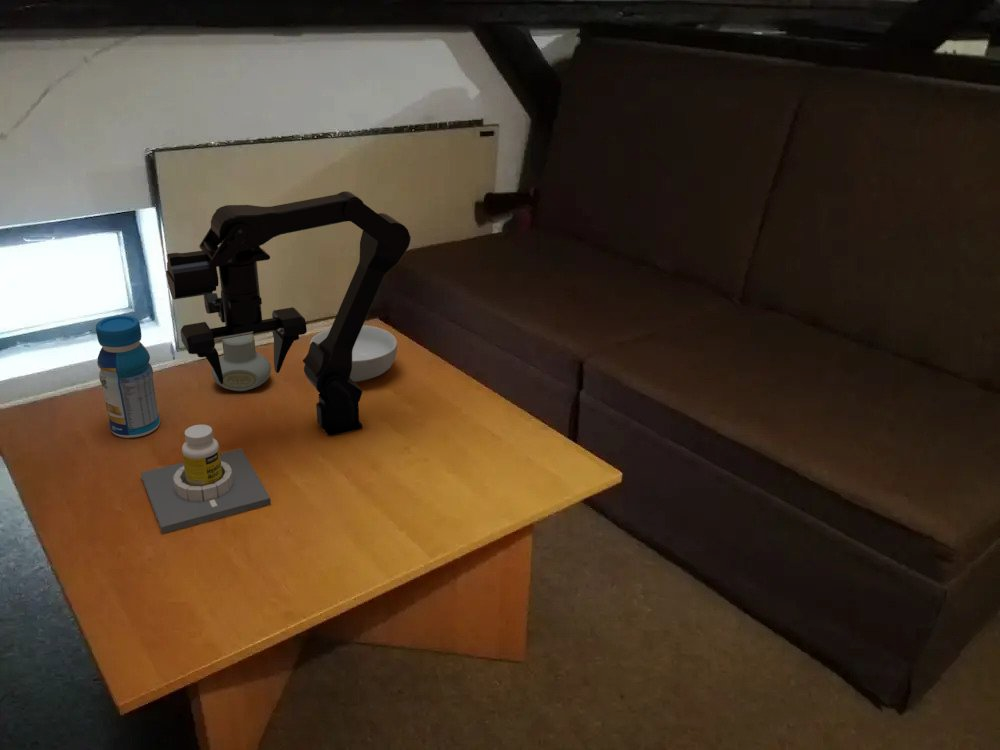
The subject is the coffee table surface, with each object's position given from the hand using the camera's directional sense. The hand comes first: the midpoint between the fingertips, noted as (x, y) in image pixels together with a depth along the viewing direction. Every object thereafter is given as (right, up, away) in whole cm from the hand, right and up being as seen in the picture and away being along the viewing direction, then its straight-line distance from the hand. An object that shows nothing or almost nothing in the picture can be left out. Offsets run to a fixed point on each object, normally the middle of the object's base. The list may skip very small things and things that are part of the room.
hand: (249, 377), depth 143 cm
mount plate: (-5, -18, -7) cm, 20 cm away
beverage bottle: (-23, -9, +10) cm, 26 cm away
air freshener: (-9, -2, +25) cm, 27 cm away
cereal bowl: (+12, +1, +31) cm, 34 cm away
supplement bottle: (-5, -17, -7) cm, 19 cm away
